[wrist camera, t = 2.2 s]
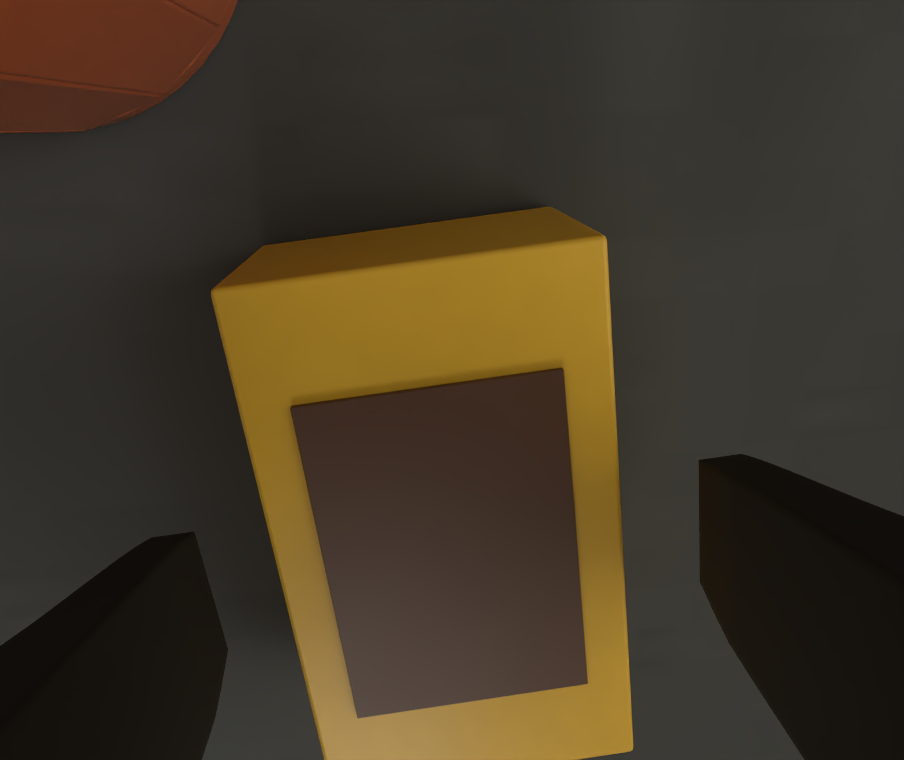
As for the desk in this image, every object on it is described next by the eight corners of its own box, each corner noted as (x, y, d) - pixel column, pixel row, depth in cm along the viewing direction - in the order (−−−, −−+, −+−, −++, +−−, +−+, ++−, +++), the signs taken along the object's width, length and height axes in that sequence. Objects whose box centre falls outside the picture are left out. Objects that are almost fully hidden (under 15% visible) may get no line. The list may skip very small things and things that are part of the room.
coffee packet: (583, 616, 15) (636, 758, 12) (347, 651, 15) (331, 804, 12) (552, 205, 12) (610, 235, 9) (260, 245, 12) (205, 291, 9)
